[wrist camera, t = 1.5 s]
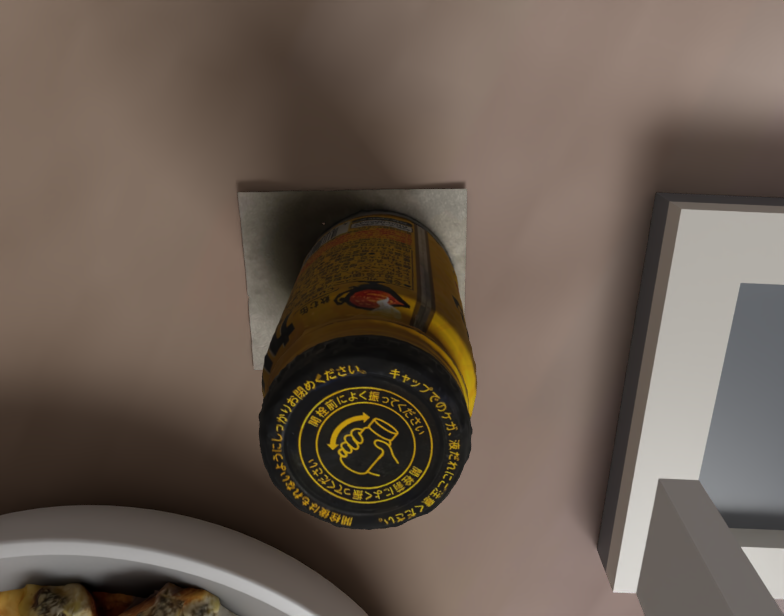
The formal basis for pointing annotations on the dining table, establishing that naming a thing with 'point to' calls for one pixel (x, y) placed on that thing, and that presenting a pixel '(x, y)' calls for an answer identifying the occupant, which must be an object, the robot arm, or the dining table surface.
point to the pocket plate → (704, 380)
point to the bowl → (150, 568)
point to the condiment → (361, 348)
